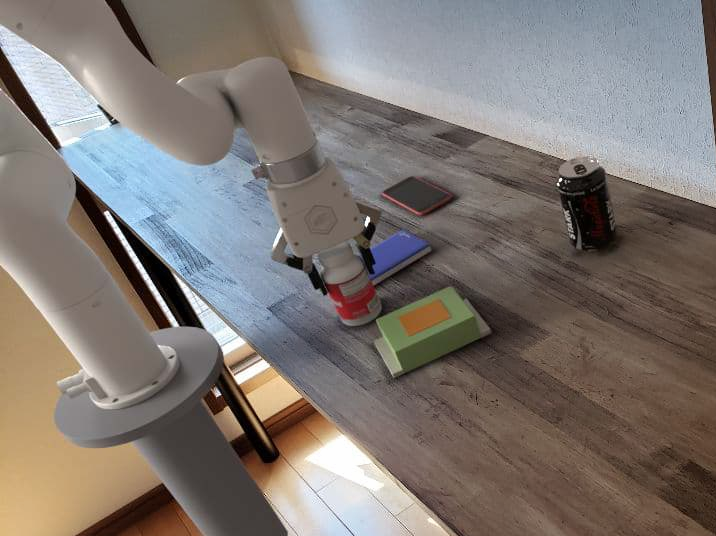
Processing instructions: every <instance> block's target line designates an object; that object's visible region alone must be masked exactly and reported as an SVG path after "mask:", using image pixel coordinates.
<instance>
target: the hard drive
mask: <svg viewBox="0 0 716 536" xmlns="http://www.w3.org/2000/svg"><path fill="white" fill-rule="evenodd" d="M370 250H371V252H372V255H373V257H374V259H375V262H376V264H375V265H373V266H372V267H373V269H374V271H375V274H373V275H372V274H371V275H370V274H369V272H368V270H367V269H366V270H367V272H368V274H369V277H370V279H371V281H372V284H373V286H374V287H375V286H376V285H377V284H379V283H381V282H382V281H384V280H386V279H387V278H389V277H390V276H392V275H394V274H395V273H397V272H399V271H400V270H403V269H404V268H406V267H407V266H409V265H410V264H412V263H413V262H415V261H417V260H419V259H420V258H422V257H424V256H426V255H427V254H428V253H430V252H432V248H431V246H430V243H428V242H427V241H425V240H424V239H421V238H419V237H418V236H417V235H414V234H412V233H410V232H408V231H406V229H401V230H400V231H398V232H396V233H394V234H393V235H391V236H389V237H388V238H386V239H384V240H382V241H381V242H379V243H377V244H376V245H374V246H372V247H370ZM358 256H359V257H360V258H361V256H360V254H359V255H358ZM361 259H362V258H361Z"/></svg>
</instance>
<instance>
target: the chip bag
mask: <svg viewBox="0 0 716 536" xmlns="http://www.w3.org/2000/svg"><path fill="white" fill-rule="evenodd" d="M480 315H481V314H479V312H477V309H475V307H474V305H472V303H470V301H469V300H468V299H467V298H465V299H462V297H461V296H460V295H459V293H458V292H457V291H456V289H455V288H454V287H453V286H452V285H450V286H447V287H445V288H443V289H441V290H438V291H436V292H434V293H432V294H430V295H427V296H425V297H423V298H421V299H418V300H415V301H414V302H412V303H410V304H407V305H404V306H403V307H400V308H398V309H396V310H394V311H392V312H389V313H386V314H385V315H383V316H380V317H377V318H375V321H376V324H377V326H378V328H379V331H380V334H381V335H382V336H381V337H378V338H376V339H375V340H373V343H374V345H375V347H376V349H377V351H378V353H379V355H380V356H381V358H382V360H383V361H384V363H385V365H386V367H387V369H388V370H389V372H390V373H391V376H392V377H393V379H395V378H398V377H399V376H403V375H404V374H406V373H408V372H410V371H413V370H414V369H417V368H419V367H422V366H423V365H426V364H428V363H430V362H432V361H434V360H436V359H439V358H440V357H442V356H445V355H447V354H450V353H451V352H453V351H456V350H458V349H460V348H462V347H464V346H466V345H469V344H471V343H473V342H475V341H477V340H479V339H481V338H484V337H486V336H488V335H490V334H492V330H491V328H490V327H489V325H488V324H487V323H486V322H485V320H484V319H483V318H482V316H480Z"/></svg>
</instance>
